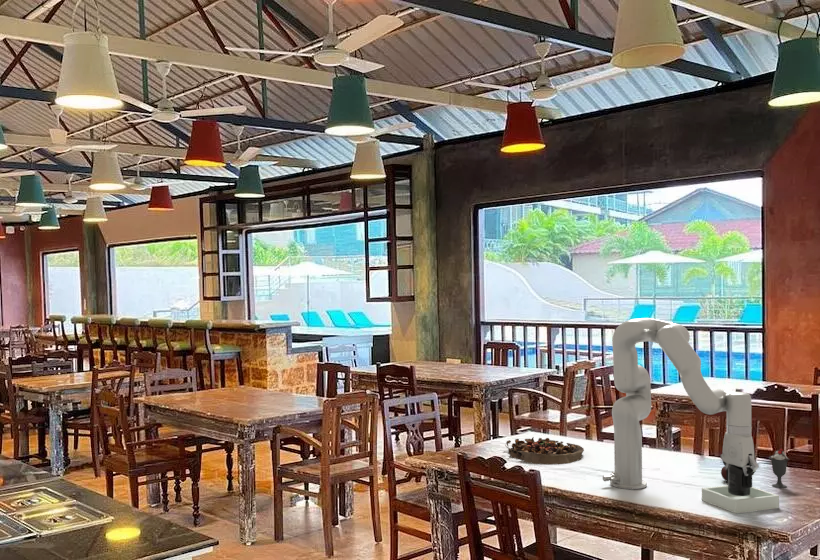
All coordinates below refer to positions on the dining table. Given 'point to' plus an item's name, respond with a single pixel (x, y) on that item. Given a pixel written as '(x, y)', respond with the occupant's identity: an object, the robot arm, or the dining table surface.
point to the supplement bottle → (736, 481)
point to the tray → (740, 499)
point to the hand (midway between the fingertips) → (739, 484)
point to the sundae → (779, 466)
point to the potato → (723, 473)
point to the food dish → (545, 451)
